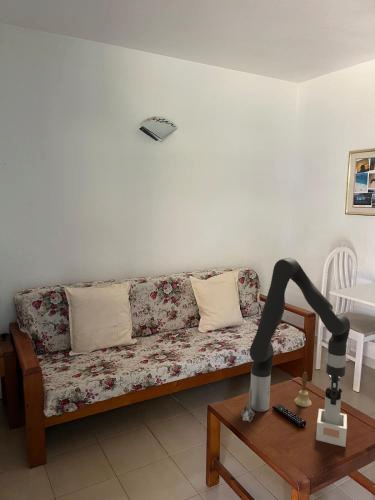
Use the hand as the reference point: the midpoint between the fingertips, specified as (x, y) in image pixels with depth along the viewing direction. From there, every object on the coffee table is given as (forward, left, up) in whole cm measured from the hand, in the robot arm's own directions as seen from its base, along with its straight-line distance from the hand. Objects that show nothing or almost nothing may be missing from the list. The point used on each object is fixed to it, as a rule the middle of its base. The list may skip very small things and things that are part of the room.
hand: (333, 399), depth 160 cm
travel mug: (0, 0, -16) cm, 16 cm away
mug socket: (0, 0, -17) cm, 17 cm away
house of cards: (-38, 0, -17) cm, 42 cm away
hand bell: (-14, +23, -17) cm, 32 cm away
